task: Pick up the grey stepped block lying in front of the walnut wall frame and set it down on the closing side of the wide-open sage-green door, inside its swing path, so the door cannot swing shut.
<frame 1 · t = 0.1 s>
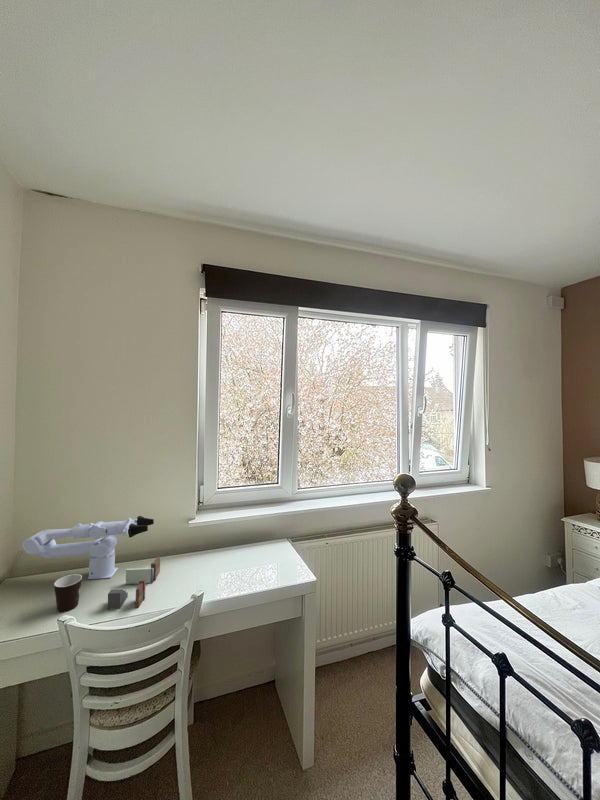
hand: (150, 524, 146), 22 cm above the table, tool horizontal, fingers open, 7 cm apart
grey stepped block: (117, 603, 124), on the table
coffee mug: (70, 604, 122), on the table
door: (139, 575, 137), point 3 cm above the table, hinge at 90.0°
door frame: (147, 589, 132), on the table
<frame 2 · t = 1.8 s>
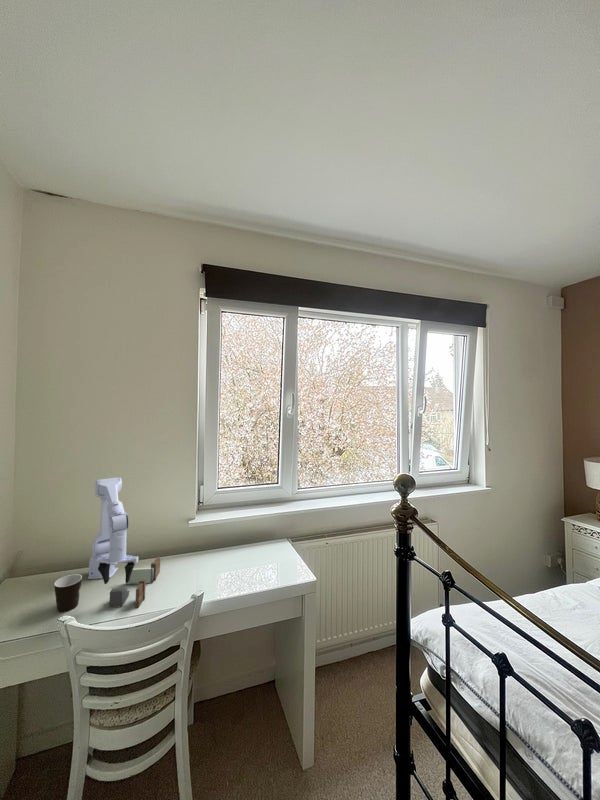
hand: (117, 582, 123), 9 cm above the table, tool pointing down, fingers open, 7 cm apart
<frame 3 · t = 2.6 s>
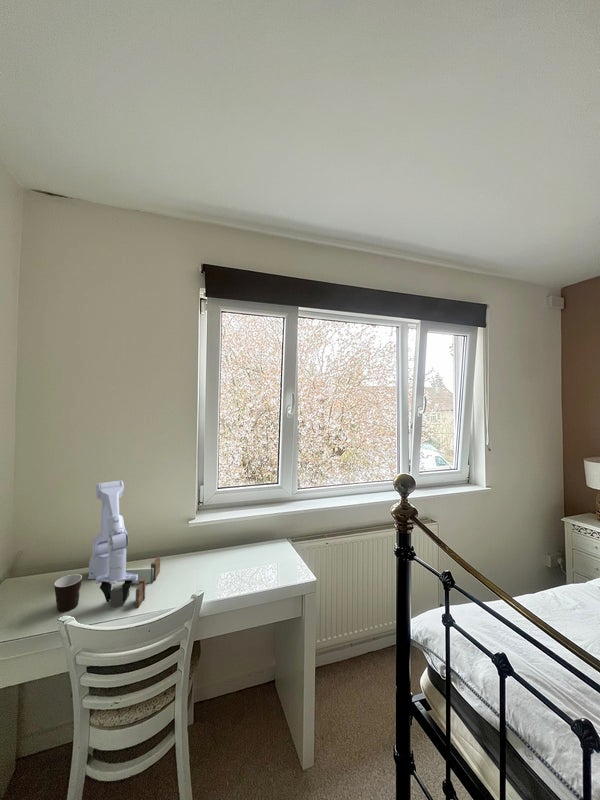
hand: (116, 600, 123), 2 cm above the table, tool pointing down, fingers open, 5 cm apart
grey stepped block: (120, 601, 125), on the table, touching gripper
everything else where it was.
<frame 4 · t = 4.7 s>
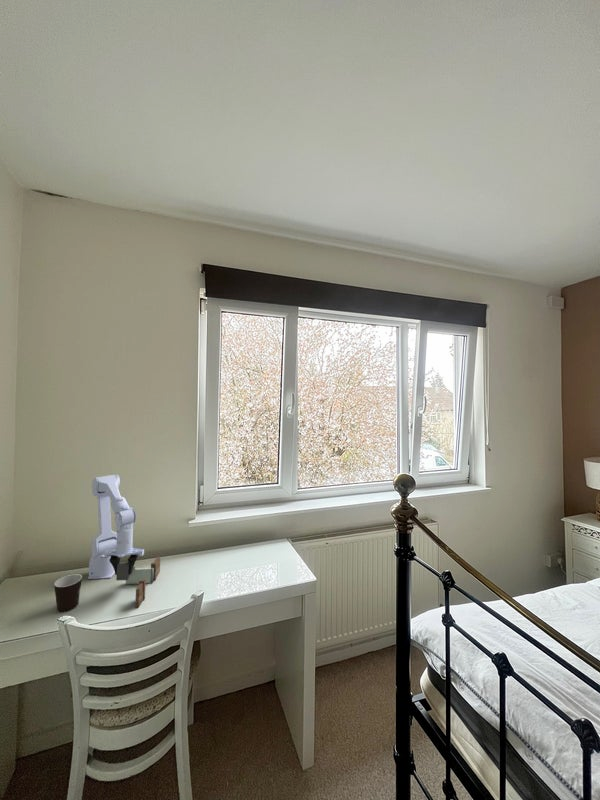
hand: (124, 573, 129), 8 cm above the table, tool pointing down, fingers closed on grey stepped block, 4 cm apart
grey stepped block: (125, 575, 131), point 6 cm above the table, touching gripper
everything else where it was.
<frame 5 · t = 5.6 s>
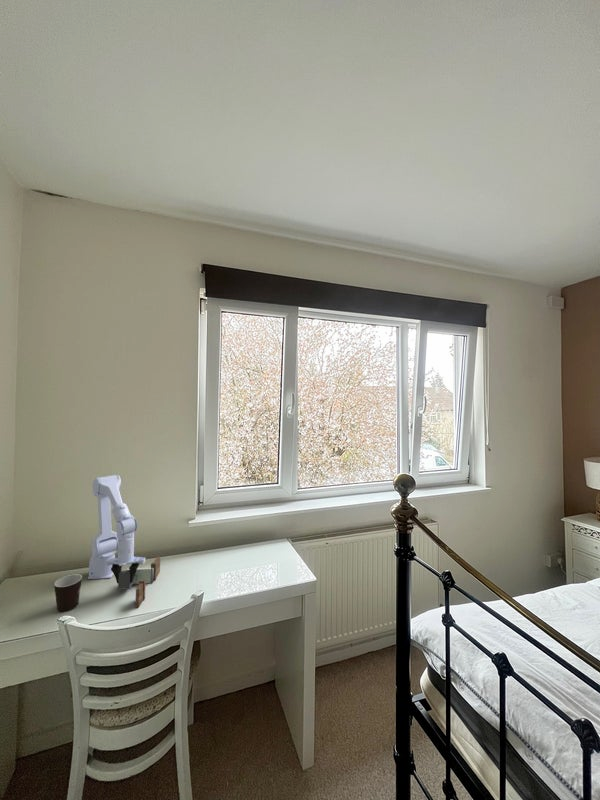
hand: (125, 581, 130), 4 cm above the table, tool pointing down, fingers closed on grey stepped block, 4 cm apart
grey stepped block: (127, 584, 132), point 2 cm above the table, touching gripper
everything else where it was.
when the fingers open (3 cm above the table, at t = 6.3 s): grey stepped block drops 1 cm, on the table.
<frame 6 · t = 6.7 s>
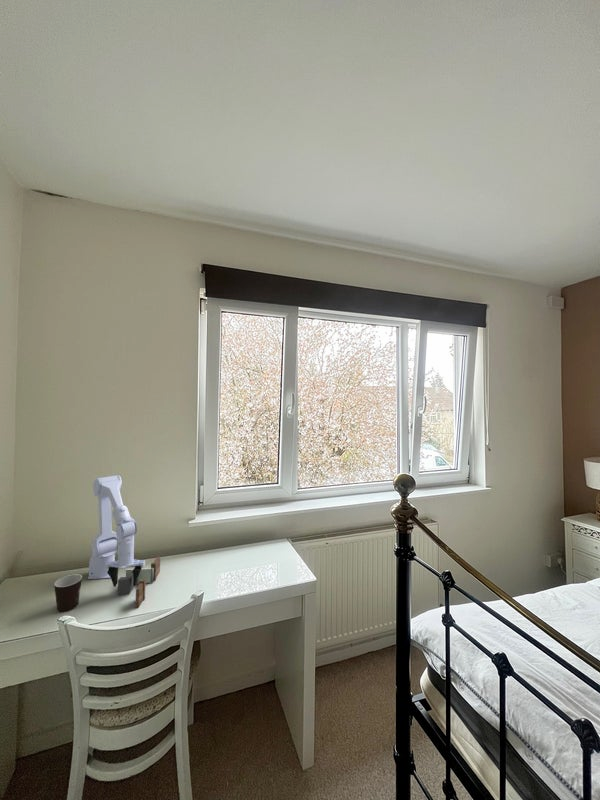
hand: (125, 584, 130), 3 cm above the table, tool pointing down, fingers open, 7 cm apart
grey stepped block: (127, 589, 132), on the table
everything else where it was.
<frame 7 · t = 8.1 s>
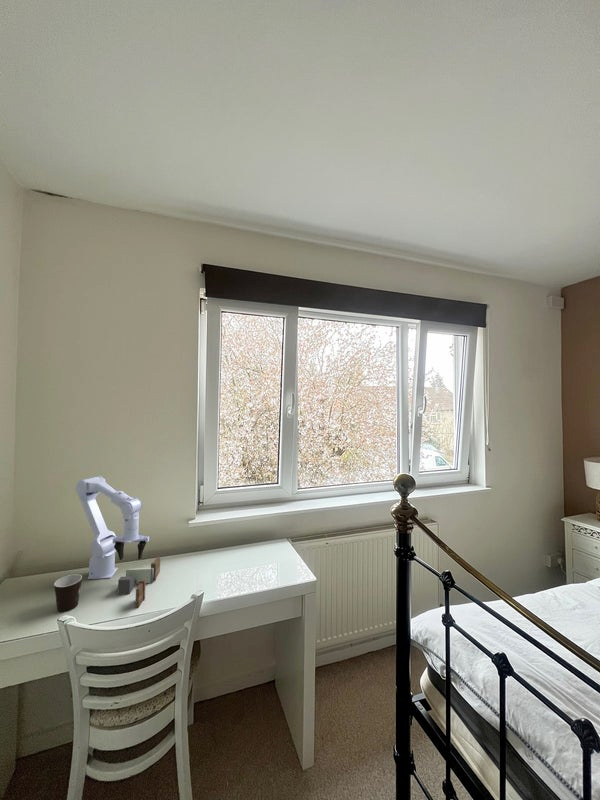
hand: (130, 558, 139), 9 cm above the table, tool pointing down, fingers open, 7 cm apart
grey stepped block: (127, 589, 132), on the table, touching door
door: (139, 575, 137), point 3 cm above the table, hinge at 90.0°, touching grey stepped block
everything else where it was.
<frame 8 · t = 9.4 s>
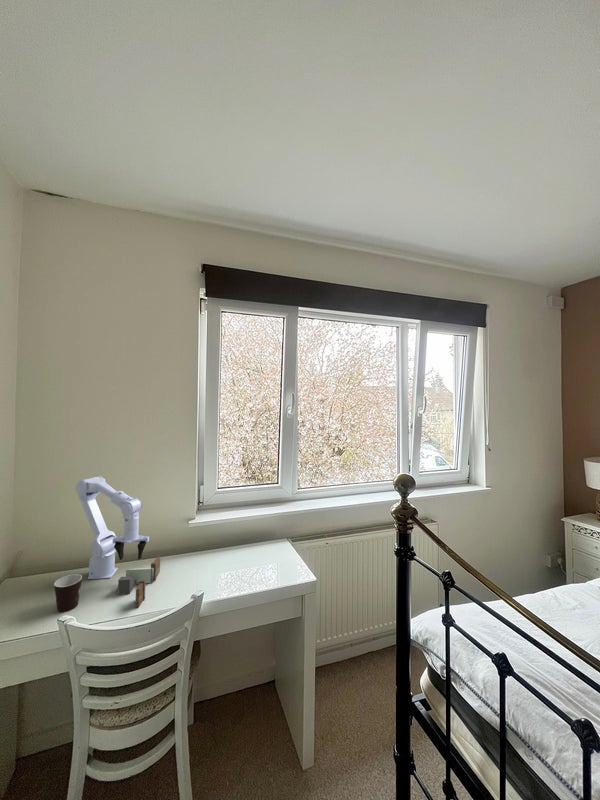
hand: (130, 558, 139), 9 cm above the table, tool pointing down, fingers open, 7 cm apart
nothing on the table moved.
at the end: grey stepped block 1.4 cm from the target spot, on the table; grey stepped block tilted 0°; door at +90° (first picture: +90°) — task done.
